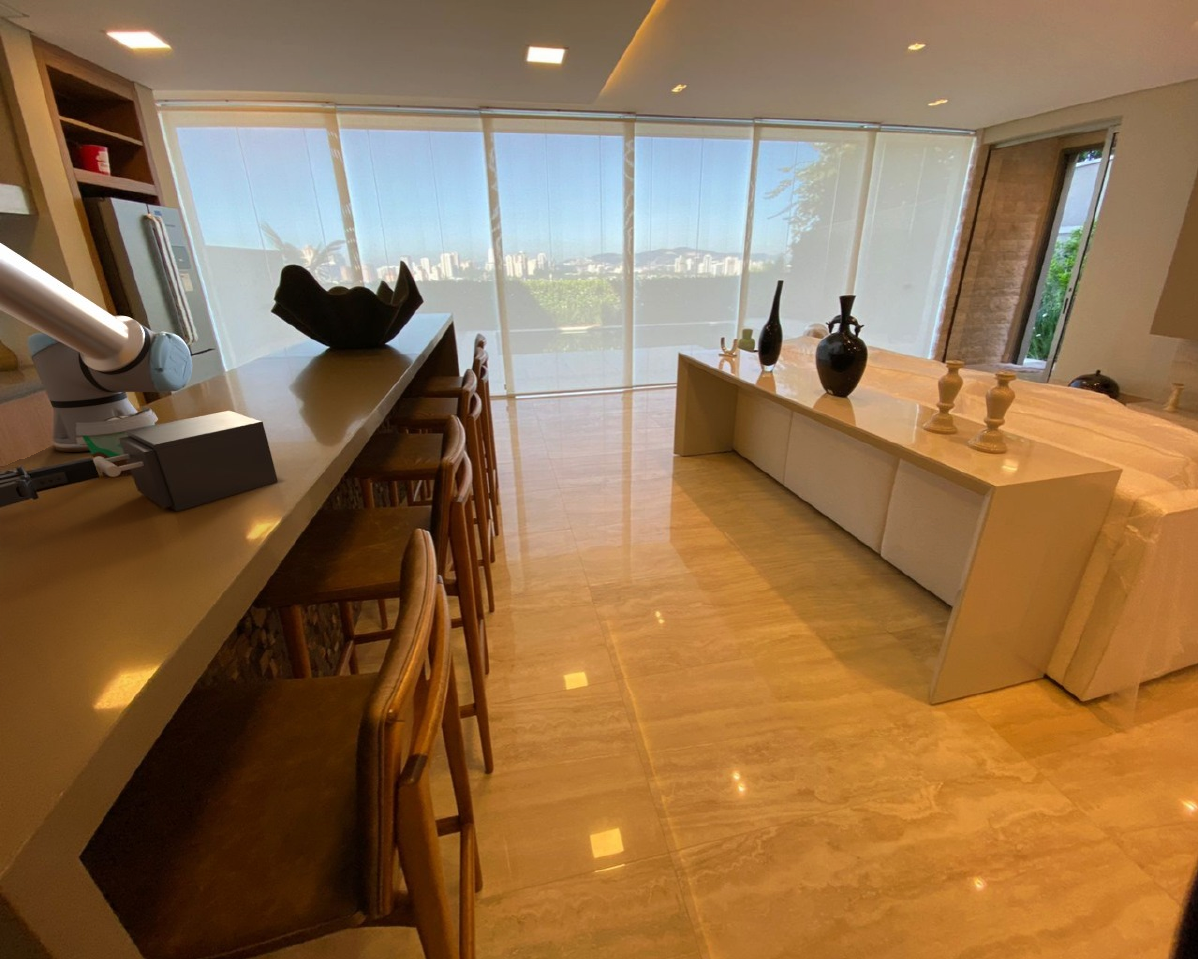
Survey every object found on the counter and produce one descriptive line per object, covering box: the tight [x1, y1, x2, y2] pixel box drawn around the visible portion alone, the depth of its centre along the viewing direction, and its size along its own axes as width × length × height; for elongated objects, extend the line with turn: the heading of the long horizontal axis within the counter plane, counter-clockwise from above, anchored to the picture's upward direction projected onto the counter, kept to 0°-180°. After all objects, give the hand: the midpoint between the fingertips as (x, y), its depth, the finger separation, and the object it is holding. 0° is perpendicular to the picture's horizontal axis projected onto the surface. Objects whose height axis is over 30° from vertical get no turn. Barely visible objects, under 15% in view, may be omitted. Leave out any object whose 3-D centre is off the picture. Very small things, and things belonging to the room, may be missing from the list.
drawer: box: [92, 437, 173, 509], centre depth 83 cm, size 18×11×9 cm, turn 144°
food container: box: [76, 406, 159, 477], centre depth 95 cm, size 12×6×10 cm, turn 168°
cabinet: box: [126, 410, 279, 513], centre depth 86 cm, size 15×13×11 cm
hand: (94, 467), depth 75 cm, fingers closed
